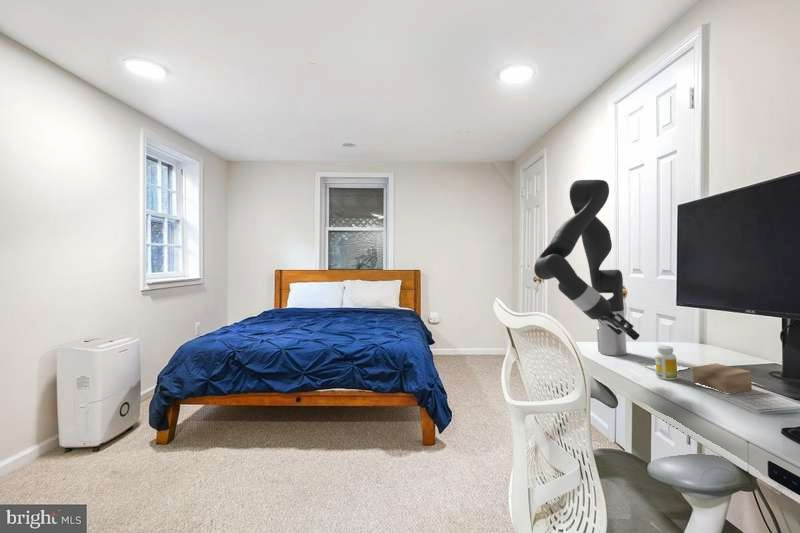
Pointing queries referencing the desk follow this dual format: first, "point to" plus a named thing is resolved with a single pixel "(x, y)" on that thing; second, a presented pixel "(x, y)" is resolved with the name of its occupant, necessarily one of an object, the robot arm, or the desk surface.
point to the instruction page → (650, 367)
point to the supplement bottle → (665, 363)
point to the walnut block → (723, 378)
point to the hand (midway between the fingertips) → (628, 335)
